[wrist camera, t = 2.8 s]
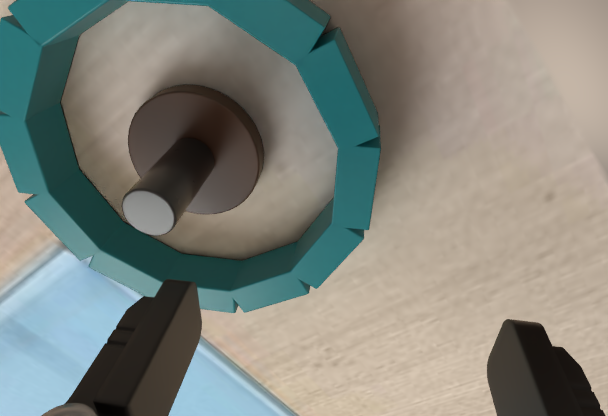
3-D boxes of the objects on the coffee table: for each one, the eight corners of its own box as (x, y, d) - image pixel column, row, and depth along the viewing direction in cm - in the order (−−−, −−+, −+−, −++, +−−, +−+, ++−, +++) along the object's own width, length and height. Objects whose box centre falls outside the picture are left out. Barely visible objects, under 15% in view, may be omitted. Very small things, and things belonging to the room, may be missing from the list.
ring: (82, -163, 14) (34, -181, 12) (456, 106, 17) (468, 129, 15) (4, 181, 22) (-33, 205, 20) (265, 321, 25) (256, 353, 23)
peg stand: (190, 53, 17) (125, 95, 13) (291, 157, 19) (266, 226, 15) (113, 140, 20) (36, 201, 15) (208, 224, 22) (165, 300, 17)
